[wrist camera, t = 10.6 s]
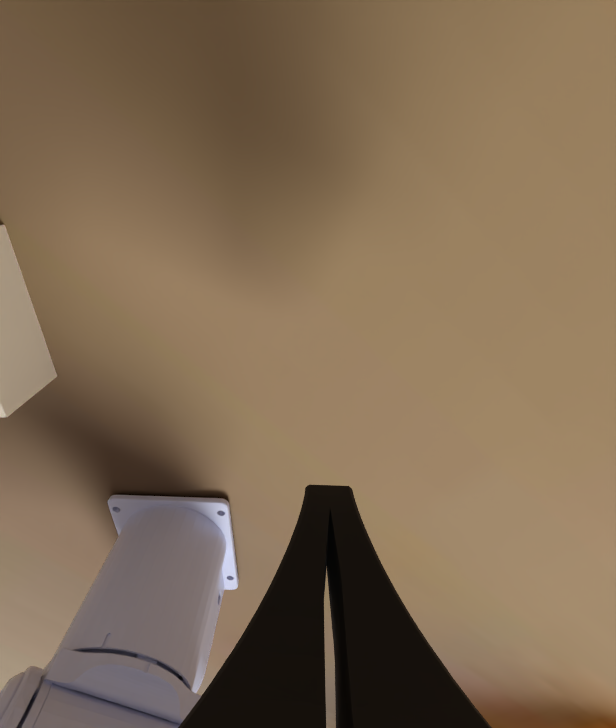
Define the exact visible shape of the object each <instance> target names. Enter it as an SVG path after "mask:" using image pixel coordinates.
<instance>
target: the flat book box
mask: <svg viewBox="0 0 616 728" xmlns="http://www.w3.org/2000/svg"><path fill="white" fill-rule="evenodd" d="M56 377H57V373H56V371H55V368H54V365H53V362H52V359H51V356H50V353H49V350H48V348H47V345H46V342H45V339H44V336H43V333H42V330H41V327H40V325H39V322H38V319H37V316H36V313H35V310H34V307H33V305H32V302H31V299H30V296H29V293H28V290H27V287H26V284H25V282H24V279H23V276H22V273H21V270H20V267H19V264H18V261H17V259H16V256H15V253H14V250H13V247H12V244H11V241H10V238H9V236H8V233H7V230H6V227H5V225H0V417H8V416H9V415H11V414H12V413H13V412H14V411H15V410H17V409H18V408H19V407H20V406H22V405H23V404H24V403H25V402H27V401H28V400H29V399H30V398H31V397H33V396H34V395H35V394H36V393H38V392H39V391H40V390H41V389H42V388H44V387H45V386H46V385H47V384H49V383H50V382H51V381H52V380H54V379H55V378H56Z"/></svg>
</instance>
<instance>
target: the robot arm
mask: <svg viewBox="0 0 616 728" xmlns="http://www.w3.org/2000/svg"><path fill="white" fill-rule="evenodd" d="M107 502H108V506H109V509H110V512H111V515H112V518H113V521H114V524H115V527H116V530H117V533H118V538H117V540H116V542H115V544H114V546H113V547H112V549H111V551H110V553H109V555H108V557H107V558H106V560H105V562H104V564H103V566H102V568H101V570H100V571H99V573H98V575H97V577H96V579H95V581H94V582H93V584H92V586H91V588H90V590H89V592H88V594H87V595H86V597H85V599H84V601H83V603H82V605H81V606H80V608H79V610H78V612H77V614H76V616H75V617H74V619H73V621H72V623H71V625H70V627H69V629H68V630H67V632H66V634H65V636H64V638H63V640H62V641H61V643H60V645H59V647H58V649H57V651H56V653H55V654H54V656H53V658H52V660H51V661H50V662H49V663H48V665H47V666H46V667H45V668H44V669H43V670H42V669H41V668H38V667H35V666H30V667H28V668H27V669H26V670H25V672H22V673H20V674H18V675H16V676H14V677H12V678H11V679H9V681H8V682H7V683H6V685H5V686H4V687H3V689H2V690H1V692H0V728H326V704H325V653H324V591H325V578H326V566H327V575H328V586H329V597H330V608H331V619H332V629H333V640H334V655H335V691H336V728H491V726H490V725H489V724H488V723H487V721H486V720H485V719H484V718H483V716H482V715H481V714H480V713H479V711H478V710H477V709H476V708H475V706H474V705H473V704H472V703H471V701H470V700H469V699H468V697H467V696H466V695H465V693H464V692H463V691H462V689H461V688H460V687H459V685H458V684H457V683H456V682H455V680H454V679H453V677H452V676H451V675H450V673H449V672H448V670H447V669H446V667H445V666H444V665H443V663H442V662H441V660H440V659H439V658H438V656H437V655H436V653H435V652H434V650H433V649H432V648H431V646H430V645H429V643H428V642H427V640H426V639H425V637H424V636H423V634H422V633H421V631H420V630H419V628H418V627H417V625H416V623H415V622H414V620H413V619H412V617H411V616H410V614H409V612H408V611H407V609H406V607H405V606H404V604H403V602H402V601H401V599H400V597H399V595H398V594H397V592H396V590H395V588H394V587H393V585H392V583H391V581H390V579H389V577H388V575H387V573H386V572H385V570H384V568H383V566H382V564H381V562H380V560H379V558H378V556H377V554H376V551H375V549H374V547H373V545H372V543H371V540H370V538H369V536H368V534H367V531H366V529H365V527H364V524H363V522H362V519H361V516H360V514H359V511H358V508H357V505H356V502H355V499H354V495H353V491H352V489H351V488H350V487H349V486H330V485H308V486H307V487H306V488H305V496H304V500H303V505H302V508H301V512H300V515H299V518H298V521H297V524H296V527H295V530H294V532H293V535H292V538H291V540H290V543H289V545H288V548H287V550H286V552H285V555H284V557H283V559H282V561H281V564H280V566H279V568H278V570H277V572H276V575H275V577H274V579H273V581H272V583H271V585H270V587H269V589H268V591H267V592H266V594H265V596H264V598H263V600H262V602H261V604H260V606H259V607H258V609H257V611H256V613H255V614H254V616H253V618H252V619H251V621H250V623H249V625H248V626H247V628H246V630H245V631H244V633H243V635H242V636H241V638H240V640H239V641H238V643H237V644H236V646H235V648H234V649H233V651H232V652H231V654H230V655H229V657H228V658H227V660H226V661H225V663H224V664H223V666H222V667H221V669H220V670H219V672H218V673H217V675H216V676H215V678H214V679H213V681H212V682H211V684H210V685H209V686H208V688H207V689H206V691H205V692H204V694H203V695H202V696H201V695H199V694H196V692H197V691H198V689H199V687H200V685H201V683H202V680H203V678H204V675H205V671H206V667H207V663H208V659H209V654H210V650H211V645H212V641H213V637H214V632H215V628H216V623H217V619H218V615H219V610H220V606H221V601H222V597H223V593H224V589H228V590H233V589H236V588H237V587H238V583H239V581H238V573H237V564H236V556H235V548H234V540H233V532H232V523H231V515H230V507H229V502H228V501H227V500H225V499H222V498H197V497H168V496H140V495H112V496H111V497H110V498H109V500H108V501H107Z"/></svg>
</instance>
